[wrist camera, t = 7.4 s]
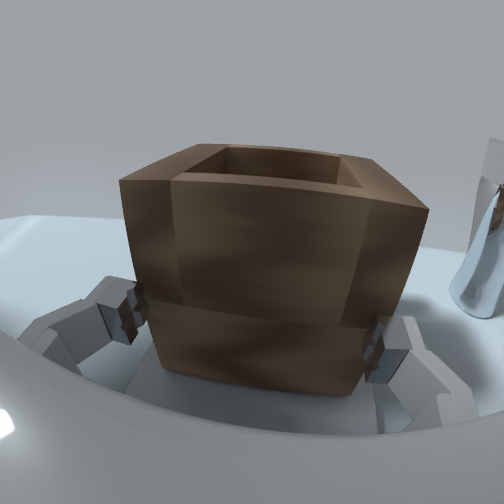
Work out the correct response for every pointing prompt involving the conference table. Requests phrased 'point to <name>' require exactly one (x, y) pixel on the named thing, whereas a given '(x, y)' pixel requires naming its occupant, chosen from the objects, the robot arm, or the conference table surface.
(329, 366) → the socket block
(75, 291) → the conference table surface
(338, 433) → the rail base
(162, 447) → the robot arm
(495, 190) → the beer glass
